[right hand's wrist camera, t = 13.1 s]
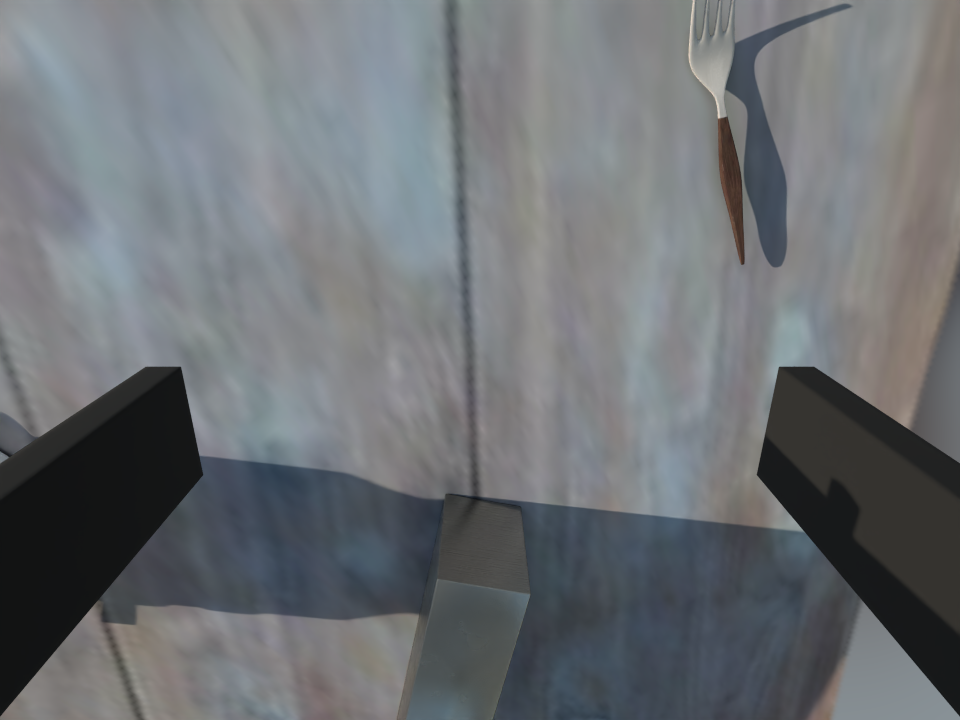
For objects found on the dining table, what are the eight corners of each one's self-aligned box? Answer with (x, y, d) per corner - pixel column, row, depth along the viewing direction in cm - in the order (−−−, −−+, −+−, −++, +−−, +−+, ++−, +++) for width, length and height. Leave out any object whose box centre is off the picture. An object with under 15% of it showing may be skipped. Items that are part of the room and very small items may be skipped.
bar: (445, 493, 43) (437, 579, 35) (520, 506, 44) (530, 594, 35) (395, 724, 52) (379, 838, 44) (458, 733, 53) (454, 848, 44)
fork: (719, 268, 37) (731, 275, 35) (678, -3, 31) (691, -13, 29) (759, 257, 36) (774, 263, 35) (725, -19, 31) (741, -29, 29)
